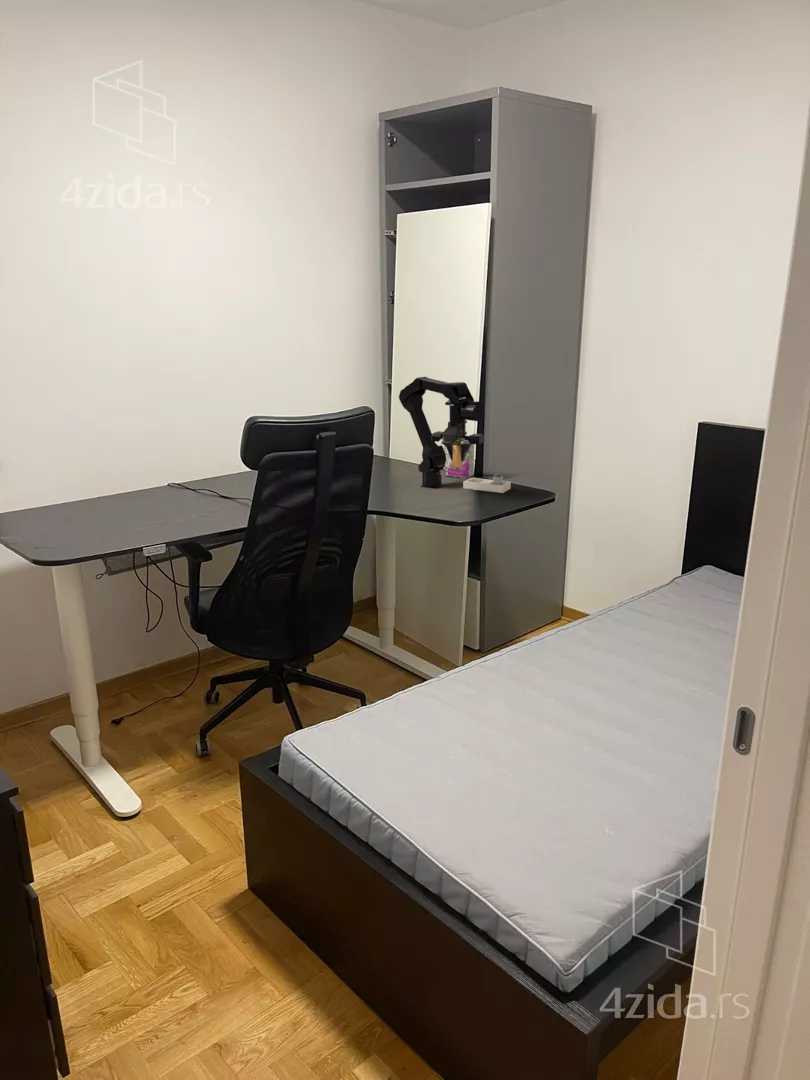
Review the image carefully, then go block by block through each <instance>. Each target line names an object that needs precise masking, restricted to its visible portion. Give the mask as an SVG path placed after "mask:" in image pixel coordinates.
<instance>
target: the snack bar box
mask: <svg viewBox="0 0 810 1080" xmlns="http://www.w3.org/2000/svg"><path fill="white" fill-rule="evenodd" d="M457 441H460V440H457ZM461 444H463V441H461ZM443 448H444V452H445V453H446V455H445V456H446V463H445V466H444V470H443V471H444V474H443V475H450V476H456V477H463V478H462V479H464V478H471V477H472V476H474V475H475V473H474V472H475V471H474V470H475V444H472V445H471V446H470V448H469V450H468V452H467V454H466V457H465V459H464V461H463V466H462V467H453V461H451V458H450V455H449V452H448V450H447V448H446V446H445V445H444V444H443Z"/></svg>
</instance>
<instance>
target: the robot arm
mask: <svg viewBox="0 0 810 1080" xmlns="http://www.w3.org/2000/svg"><path fill="white" fill-rule="evenodd" d="M426 391H430V392H434V393H438V394H441V395H442V396H443V397H444V398H446V399H448V400H447V401H446V402H445V403H444V404H445V406H449V421H447V428H445V430H444V431H440V430H438V431H435V432H433V433H432V430H431V428H430V425H429V422H428V420H427V418H426V415H425V412H424V410H423V404H424V398H423V397H424V395H425V394H426ZM398 399H399V402H400V403H401V405H402V406H401V407H403V409H405V410H406V411H407V412H408V413H409V415H410V418H411V420H412V423H413V425H414V428H415V431H416V432H417V435H418V439H419V441H420V444H421V446H422V454H421V456H422V457H421V458H422V461H421V462H420V463H419V465H418V466H417V468H418V471H419V473H422V474H421V475H422V478H421V479H422V484H421V485H420V488H427V489H437V488H440V487H442V486H443V483H442V481H443V480H442V478H443V477H442V474H441V471H444V466H445V463H446V456H445V455H446V453H445V452H444V445H445V446H446V448H447V450H448V452H449V455H450V458H451V461H453V444H454V442H456V441H457V440H460V441H463V444H461V447H462V455H461V460H462V462H463V461H464V459H465V457H466V454H467V452H468V450H469V448H470V446H471V445H472V444H474V445H480V444H483V443H485V436H484V434H482V433H473V434H470V435H467V434H468V432H467V430H466V424H467V423H468V421H471V422H481V420H482V419H483V418H484V415H485V410H484V408H483V406H482V405H481V402H480V401H475V399H474V396H473V394H472V393H471V391H470V389H469V388H468V385H467V383H466V382H465V381H464V382H463V381H462V382H460V381H458V382H457V381H456V382H447V381H442V380H438V379H434V378H429V377H427V376H421V377H420V376H419V377H416V378H414V380H413V381H412V382H410V383H409V384H408V385H406V386H404V388H403V389H401V390H400V392H399V395H398ZM440 441H441V443H440V444H441V445H438V444H437V443H438V442H440ZM436 442H437V443H436Z"/></svg>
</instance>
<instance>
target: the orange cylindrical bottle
mask: <svg viewBox="0 0 810 1080" xmlns="http://www.w3.org/2000/svg"><path fill="white" fill-rule="evenodd" d="M461 455H462V447H461V441H456V442H454V444H453V467H462V466H463V462H462V460H461Z"/></svg>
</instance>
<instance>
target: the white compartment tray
mask: <svg viewBox="0 0 810 1080" xmlns="http://www.w3.org/2000/svg"><path fill="white" fill-rule="evenodd" d="M462 483H463V484H462V485H463V487H462V489H465V490H466V489H467V490H472V491H473V490H475V491H482V492H492V493H499V494H504V493H506V492H508V491H509V490H511V487H512V486H511V484H512V482H511V481H505V480H503V485H494V484H493V479H486V478H478V477H469V478H468V479H465V480H464V481H463V482H462Z"/></svg>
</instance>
